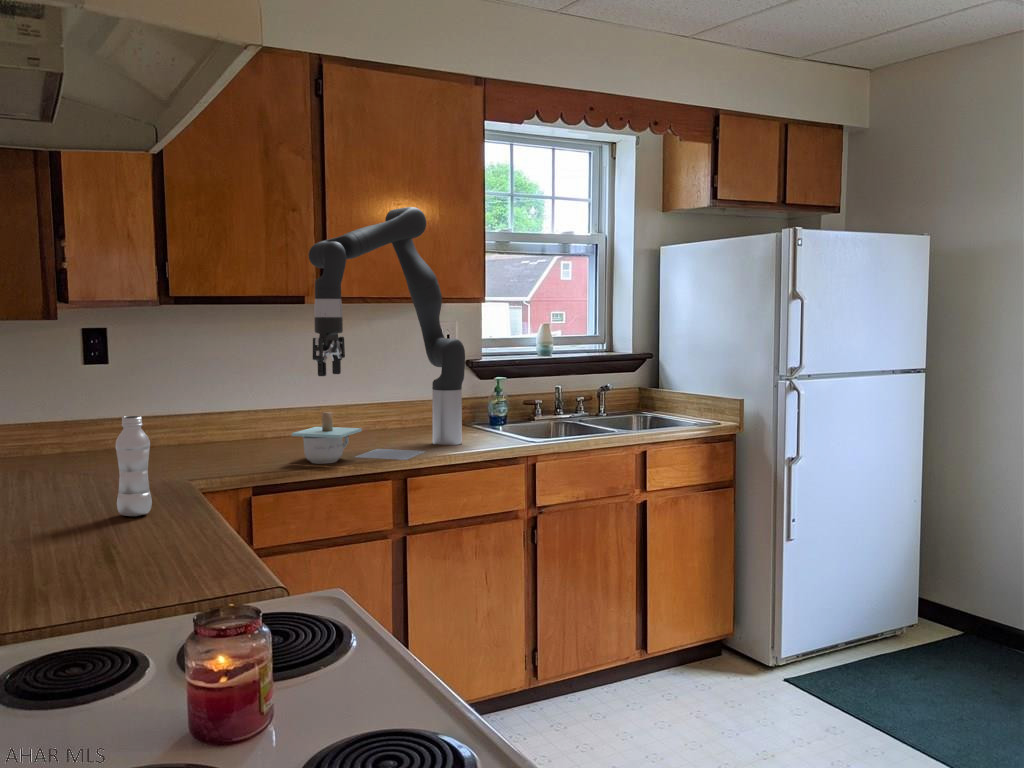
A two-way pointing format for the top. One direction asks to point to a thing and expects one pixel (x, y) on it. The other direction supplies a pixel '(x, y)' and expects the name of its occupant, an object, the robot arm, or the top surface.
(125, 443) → the plastic bottle
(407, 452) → the mat
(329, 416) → the lid
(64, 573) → the top surface
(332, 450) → the teacup
